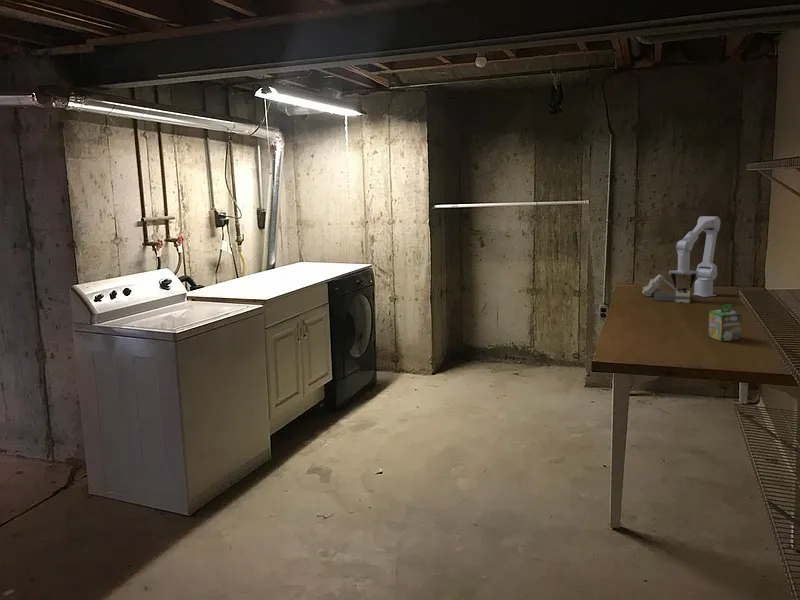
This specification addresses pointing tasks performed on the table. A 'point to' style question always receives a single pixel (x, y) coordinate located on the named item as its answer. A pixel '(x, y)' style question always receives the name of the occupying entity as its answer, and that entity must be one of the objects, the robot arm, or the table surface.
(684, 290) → the round dark gray knob
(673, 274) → the robot arm
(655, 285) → the mechanical valve
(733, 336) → the chalk box
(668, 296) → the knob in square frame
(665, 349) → the table surface
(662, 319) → the table surface
